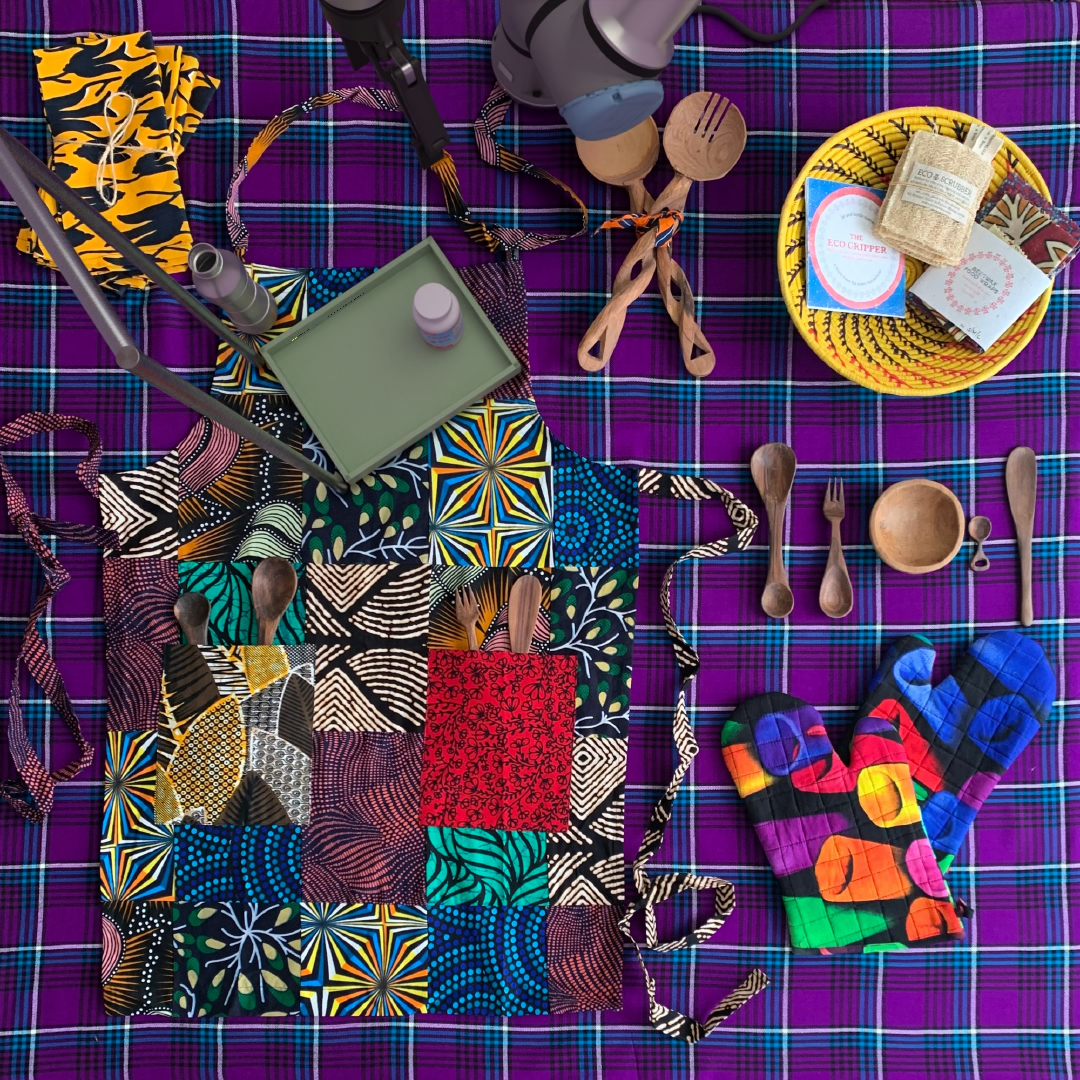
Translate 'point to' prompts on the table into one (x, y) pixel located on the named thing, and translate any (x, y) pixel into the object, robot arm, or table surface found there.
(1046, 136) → the table surface
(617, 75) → the robot arm
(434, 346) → the pill bottle
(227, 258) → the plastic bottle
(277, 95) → the table surface
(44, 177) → the platform cart
